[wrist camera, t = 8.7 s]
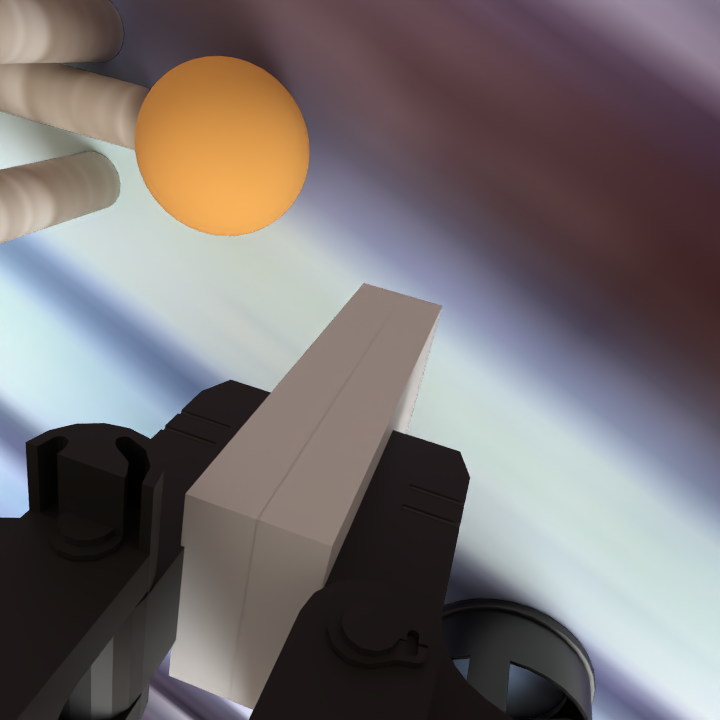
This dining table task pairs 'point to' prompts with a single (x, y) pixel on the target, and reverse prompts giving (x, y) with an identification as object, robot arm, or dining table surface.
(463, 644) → the french press
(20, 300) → the dining table surface
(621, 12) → the dining table surface
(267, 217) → the ball
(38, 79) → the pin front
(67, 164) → the pin
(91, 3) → the pin
